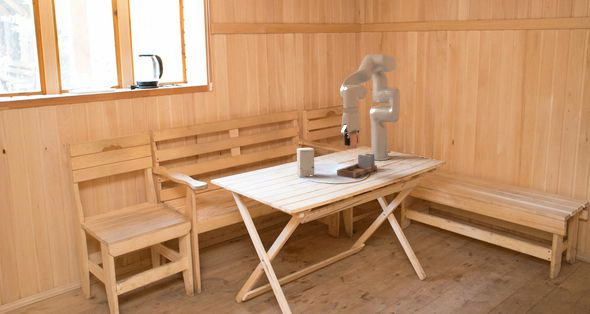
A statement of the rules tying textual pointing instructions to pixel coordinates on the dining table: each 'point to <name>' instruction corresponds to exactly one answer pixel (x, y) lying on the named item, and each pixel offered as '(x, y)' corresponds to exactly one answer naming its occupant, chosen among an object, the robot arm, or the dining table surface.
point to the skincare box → (305, 162)
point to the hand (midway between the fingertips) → (351, 144)
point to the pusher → (366, 160)
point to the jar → (352, 140)
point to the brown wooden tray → (355, 171)
